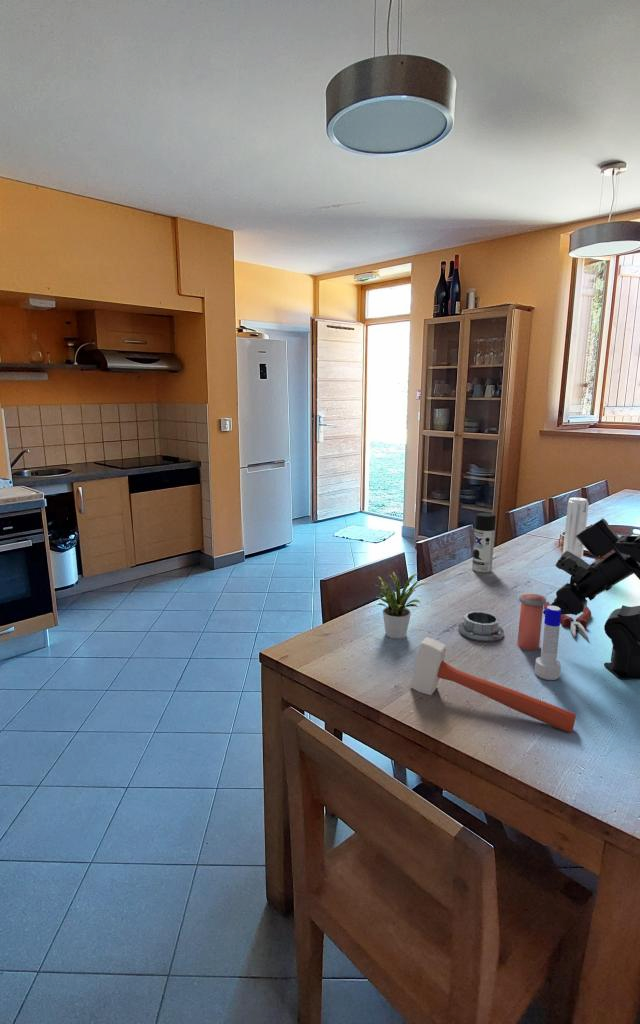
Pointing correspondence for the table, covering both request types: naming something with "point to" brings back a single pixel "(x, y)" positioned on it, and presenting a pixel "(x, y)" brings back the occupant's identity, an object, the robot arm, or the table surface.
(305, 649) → the table surface
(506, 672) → the table surface
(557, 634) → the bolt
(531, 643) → the orange capped cylinder
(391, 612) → the house plant
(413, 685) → the mallet
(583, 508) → the white tall cylinder
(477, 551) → the spray can
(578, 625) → the pliers
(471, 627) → the pipe socket
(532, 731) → the table surface
